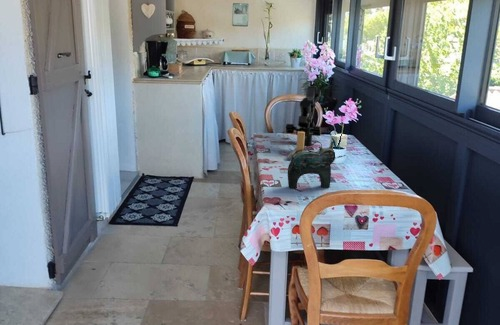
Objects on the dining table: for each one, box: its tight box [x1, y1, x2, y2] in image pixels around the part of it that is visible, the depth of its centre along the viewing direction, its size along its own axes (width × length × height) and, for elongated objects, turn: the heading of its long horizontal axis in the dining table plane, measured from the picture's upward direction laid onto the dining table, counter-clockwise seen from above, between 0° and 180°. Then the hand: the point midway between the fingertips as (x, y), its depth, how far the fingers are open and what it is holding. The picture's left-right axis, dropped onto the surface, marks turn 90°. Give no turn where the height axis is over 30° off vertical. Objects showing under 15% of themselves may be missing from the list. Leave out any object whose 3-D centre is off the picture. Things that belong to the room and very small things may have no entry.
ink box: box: [329, 133, 349, 150], centre depth 240 cm, size 9×5×12 cm, turn 129°
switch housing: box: [286, 147, 308, 162], centre depth 236 cm, size 16×10×3 cm, turn 165°
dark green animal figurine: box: [287, 140, 336, 190], centre depth 188 cm, size 20×6×20 cm, turn 99°
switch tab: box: [295, 131, 305, 154], centre depth 237 cm, size 2×4×11 cm, turn 75°
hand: (301, 142), depth 239 cm, fingers closed
